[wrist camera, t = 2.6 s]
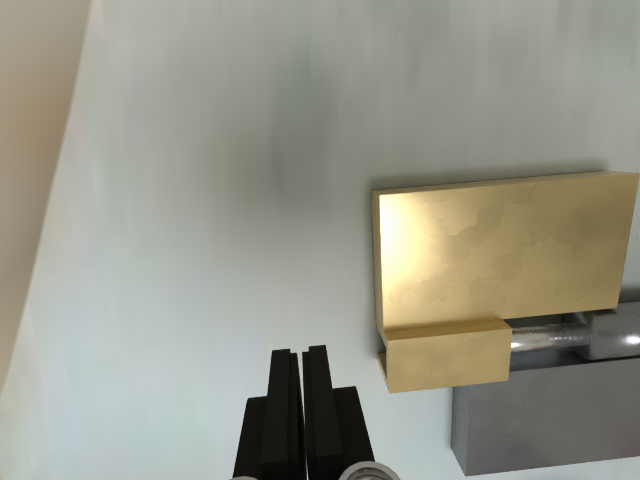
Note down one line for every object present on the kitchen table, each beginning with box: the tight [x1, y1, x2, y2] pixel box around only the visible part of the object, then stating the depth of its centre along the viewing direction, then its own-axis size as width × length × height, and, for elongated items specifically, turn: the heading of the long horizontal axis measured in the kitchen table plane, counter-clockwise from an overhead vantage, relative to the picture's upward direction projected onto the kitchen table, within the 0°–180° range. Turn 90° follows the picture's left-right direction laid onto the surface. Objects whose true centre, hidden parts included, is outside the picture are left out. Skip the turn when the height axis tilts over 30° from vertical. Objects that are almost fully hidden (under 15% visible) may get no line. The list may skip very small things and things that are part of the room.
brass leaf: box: [371, 171, 640, 393], centre depth 23 cm, size 16×13×4 cm
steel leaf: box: [452, 301, 640, 476], centre depth 26 cm, size 17×13×4 cm
